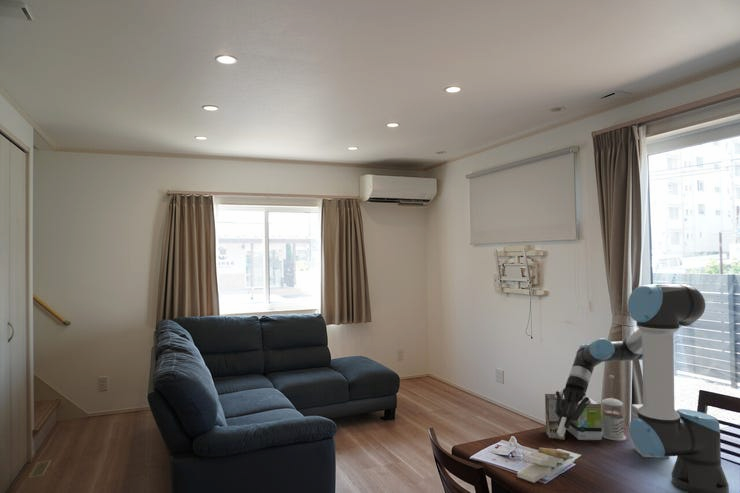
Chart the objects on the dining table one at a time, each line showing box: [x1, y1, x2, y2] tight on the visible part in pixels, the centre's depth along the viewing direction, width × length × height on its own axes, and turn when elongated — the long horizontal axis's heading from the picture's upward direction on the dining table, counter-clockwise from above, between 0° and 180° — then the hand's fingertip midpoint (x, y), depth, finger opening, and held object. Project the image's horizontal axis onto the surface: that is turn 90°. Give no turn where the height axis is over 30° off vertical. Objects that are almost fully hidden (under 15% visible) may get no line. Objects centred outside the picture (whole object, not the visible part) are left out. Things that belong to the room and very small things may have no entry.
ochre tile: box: [537, 447, 570, 458], centre depth 174 cm, size 2×6×12 cm
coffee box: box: [544, 393, 566, 441], centre depth 200 cm, size 9×6×16 cm
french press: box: [601, 374, 627, 441], centre depth 199 cm, size 10×12×25 cm
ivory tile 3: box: [516, 462, 551, 483], centre depth 163 cm, size 2×6×12 cm
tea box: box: [563, 394, 603, 441], centre depth 202 cm, size 15×10×15 cm
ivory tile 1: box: [530, 450, 564, 464], centre depth 169 cm, size 2×6×12 cm
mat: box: [546, 448, 582, 477], centre depth 173 cm, size 25×9×1 cm, turn 133°
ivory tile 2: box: [523, 454, 557, 467], centre depth 166 cm, size 2×6×12 cm
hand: (560, 434), depth 176 cm, fingers closed
